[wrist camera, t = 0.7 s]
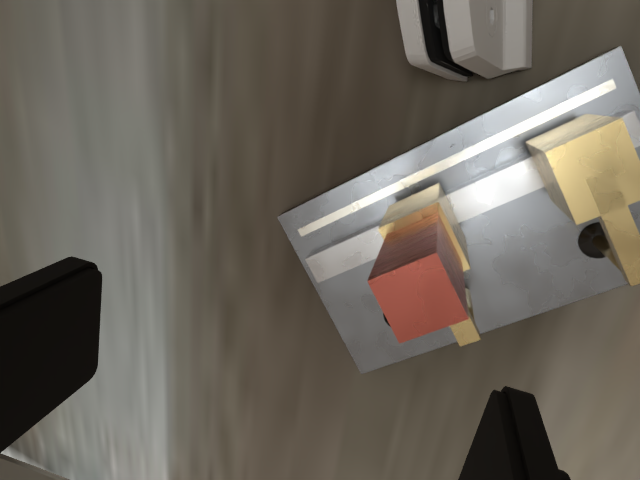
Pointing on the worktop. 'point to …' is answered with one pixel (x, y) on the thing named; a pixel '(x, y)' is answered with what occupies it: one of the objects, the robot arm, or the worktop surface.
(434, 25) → the grey stapler
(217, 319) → the worktop surface
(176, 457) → the worktop surface
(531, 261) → the gauge plate
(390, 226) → the block
